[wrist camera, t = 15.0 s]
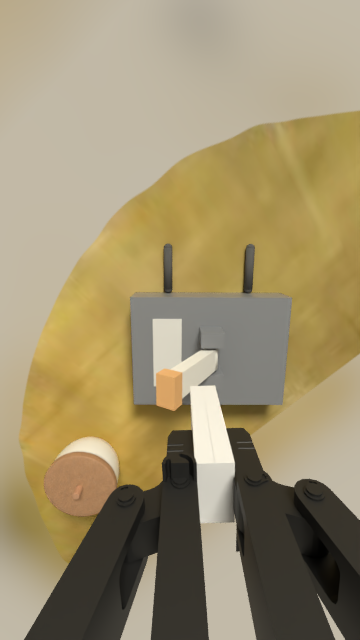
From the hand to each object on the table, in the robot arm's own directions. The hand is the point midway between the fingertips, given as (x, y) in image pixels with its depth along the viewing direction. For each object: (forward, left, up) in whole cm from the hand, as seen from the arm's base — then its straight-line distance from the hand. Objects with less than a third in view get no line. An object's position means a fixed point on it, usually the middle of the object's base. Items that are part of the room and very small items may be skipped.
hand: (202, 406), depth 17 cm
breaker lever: (-3, +5, -21) cm, 22 cm away
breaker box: (-3, +5, -28) cm, 29 cm away
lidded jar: (+16, +25, -28) cm, 41 cm away
